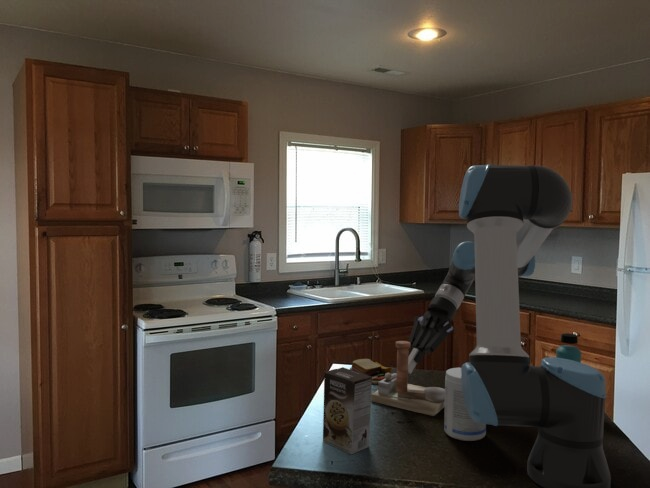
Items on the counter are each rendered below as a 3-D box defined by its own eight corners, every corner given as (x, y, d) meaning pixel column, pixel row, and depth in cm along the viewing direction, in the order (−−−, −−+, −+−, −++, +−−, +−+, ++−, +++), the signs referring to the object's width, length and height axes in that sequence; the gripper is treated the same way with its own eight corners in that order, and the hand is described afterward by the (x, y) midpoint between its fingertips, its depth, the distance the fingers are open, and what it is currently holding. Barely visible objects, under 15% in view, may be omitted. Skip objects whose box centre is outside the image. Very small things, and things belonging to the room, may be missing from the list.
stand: (433, 416, 140) (434, 388, 139) (371, 401, 149) (371, 375, 149) (452, 400, 151) (453, 375, 151) (393, 387, 161) (394, 363, 161)
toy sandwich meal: (369, 388, 161) (370, 372, 161) (343, 375, 172) (343, 360, 172) (402, 381, 168) (402, 366, 168) (375, 369, 179) (375, 355, 179)
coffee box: (321, 441, 123) (322, 371, 122) (340, 433, 128) (342, 366, 127) (351, 455, 117) (353, 381, 116) (370, 446, 122) (372, 375, 120)
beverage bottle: (577, 413, 143) (581, 338, 142) (550, 408, 147) (554, 334, 145) (581, 406, 149) (585, 333, 147) (554, 401, 152) (558, 330, 151)
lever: (446, 395, 148) (448, 342, 147) (447, 402, 143) (449, 348, 142) (394, 391, 151) (396, 339, 150) (393, 398, 145) (395, 345, 144)
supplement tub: (494, 437, 128) (496, 375, 127) (466, 446, 123) (468, 381, 122) (462, 422, 136) (464, 364, 135) (434, 430, 131) (437, 370, 130)
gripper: (422, 291, 162) (382, 357, 152) (459, 298, 152) (419, 368, 143) (432, 307, 166) (394, 372, 156) (469, 314, 156) (431, 384, 147)
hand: (406, 370), depth 149 cm, fingers closed
